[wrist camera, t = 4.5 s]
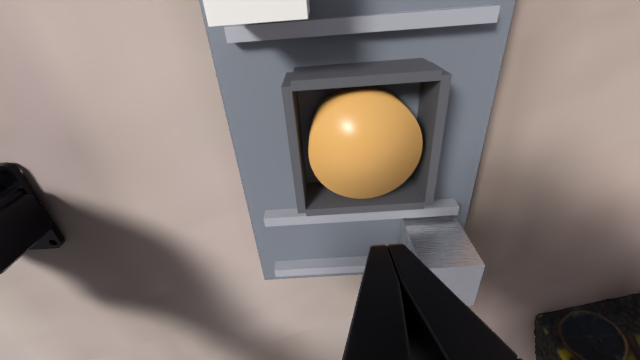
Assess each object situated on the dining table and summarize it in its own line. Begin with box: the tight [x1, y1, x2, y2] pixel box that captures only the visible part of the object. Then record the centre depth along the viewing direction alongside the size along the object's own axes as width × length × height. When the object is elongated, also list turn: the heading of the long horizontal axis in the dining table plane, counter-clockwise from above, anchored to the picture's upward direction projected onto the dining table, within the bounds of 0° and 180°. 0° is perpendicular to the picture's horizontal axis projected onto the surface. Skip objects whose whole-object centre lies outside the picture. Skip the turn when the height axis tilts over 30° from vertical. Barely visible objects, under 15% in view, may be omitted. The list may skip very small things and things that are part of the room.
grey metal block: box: [400, 215, 485, 306], centre depth 17 cm, size 3×3×4 cm
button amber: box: [308, 85, 423, 199], centre depth 15 cm, size 5×5×2 cm
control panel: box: [199, 0, 516, 280], centre depth 14 cm, size 13×28×4 cm, turn 4°
